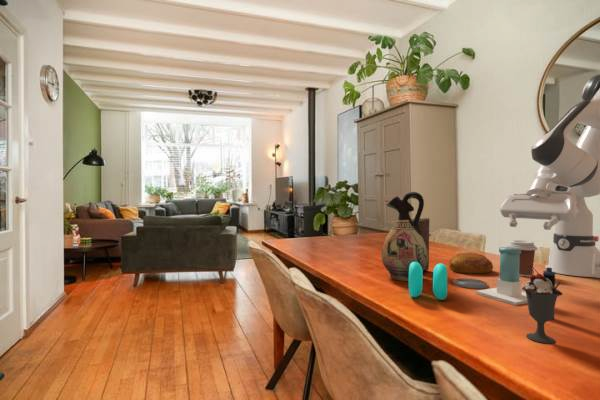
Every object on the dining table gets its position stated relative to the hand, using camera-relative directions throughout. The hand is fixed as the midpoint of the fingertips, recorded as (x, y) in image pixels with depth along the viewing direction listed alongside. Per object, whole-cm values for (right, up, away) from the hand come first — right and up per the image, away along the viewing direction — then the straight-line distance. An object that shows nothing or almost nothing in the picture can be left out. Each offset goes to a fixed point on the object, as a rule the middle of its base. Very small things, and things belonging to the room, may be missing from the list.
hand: (528, 227), depth 109 cm
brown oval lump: (-5, -19, +28) cm, 34 cm away
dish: (-15, -19, +7) cm, 25 cm away
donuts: (-34, -20, -8) cm, 40 cm away
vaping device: (-11, -20, -23) cm, 32 cm away
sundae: (-21, -20, -36) cm, 46 cm away
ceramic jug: (-33, -19, +15) cm, 41 cm away
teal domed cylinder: (-10, -15, -7) cm, 19 cm away
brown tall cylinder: (-25, -19, +26) cm, 41 cm away
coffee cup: (+11, -19, +21) cm, 30 cm away
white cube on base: (-10, -19, -7) cm, 23 cm away
